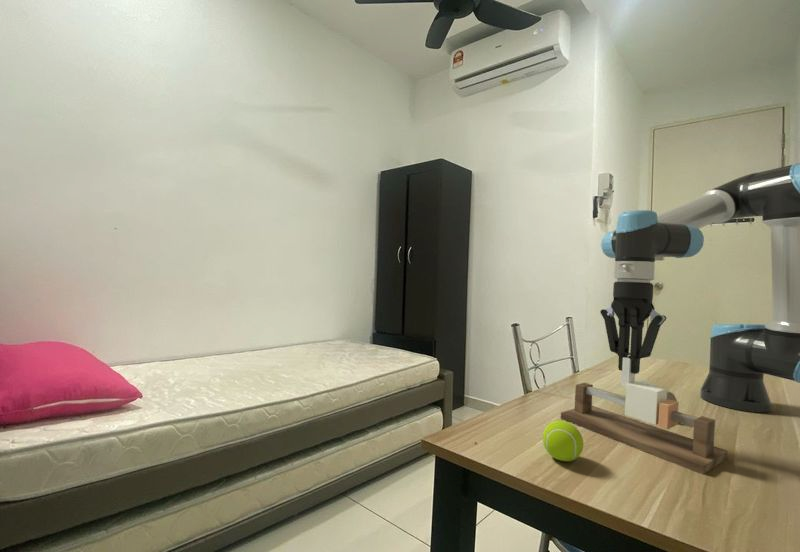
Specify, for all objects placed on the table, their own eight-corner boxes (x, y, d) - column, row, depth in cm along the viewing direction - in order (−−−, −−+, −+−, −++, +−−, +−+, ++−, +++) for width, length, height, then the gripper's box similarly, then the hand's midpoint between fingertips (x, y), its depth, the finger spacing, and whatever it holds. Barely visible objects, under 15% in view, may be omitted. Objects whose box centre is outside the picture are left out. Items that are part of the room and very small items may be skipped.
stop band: (668, 422, 78) (669, 399, 78) (677, 424, 77) (678, 401, 77) (658, 426, 76) (659, 403, 76) (667, 429, 74) (668, 405, 74)
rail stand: (588, 410, 96) (589, 379, 96) (726, 458, 73) (729, 417, 73) (560, 418, 90) (562, 385, 90) (703, 474, 66) (705, 429, 66)
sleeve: (634, 411, 84) (636, 381, 84) (665, 420, 79) (667, 388, 79) (624, 414, 81) (626, 383, 81) (655, 424, 76) (657, 391, 76)
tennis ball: (545, 446, 75) (546, 412, 75) (583, 456, 71) (585, 420, 71) (538, 461, 69) (540, 423, 69) (580, 473, 65) (582, 433, 65)
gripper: (595, 279, 86) (590, 380, 86) (658, 282, 75) (652, 398, 76) (612, 280, 90) (607, 377, 91) (674, 282, 79) (668, 392, 80)
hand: (627, 386), depth 83 cm, fingers closed
